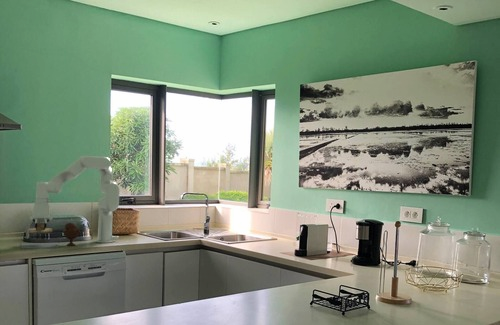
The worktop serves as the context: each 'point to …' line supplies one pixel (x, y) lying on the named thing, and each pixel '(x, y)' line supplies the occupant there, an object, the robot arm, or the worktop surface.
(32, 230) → the walnut lid
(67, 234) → the ice cream bowl
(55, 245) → the pale grey flat board
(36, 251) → the worktop surface
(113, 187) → the robot arm
